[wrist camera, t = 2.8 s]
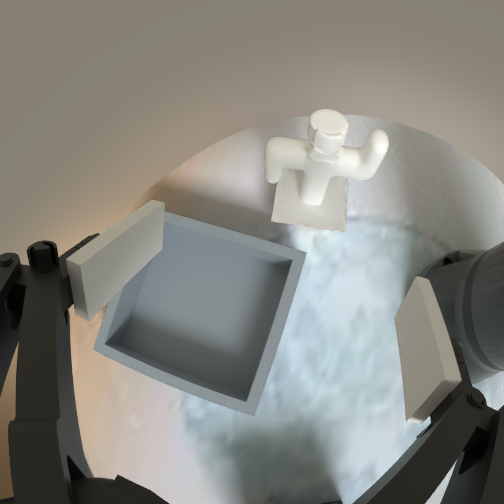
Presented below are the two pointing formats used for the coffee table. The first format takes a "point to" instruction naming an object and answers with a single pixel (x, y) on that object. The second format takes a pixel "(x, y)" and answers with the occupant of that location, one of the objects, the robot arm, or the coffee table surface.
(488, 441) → the robot arm
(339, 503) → the small box
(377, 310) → the coffee table surface
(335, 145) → the figurine
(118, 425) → the coffee table surface
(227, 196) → the coffee table surface
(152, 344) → the tray
